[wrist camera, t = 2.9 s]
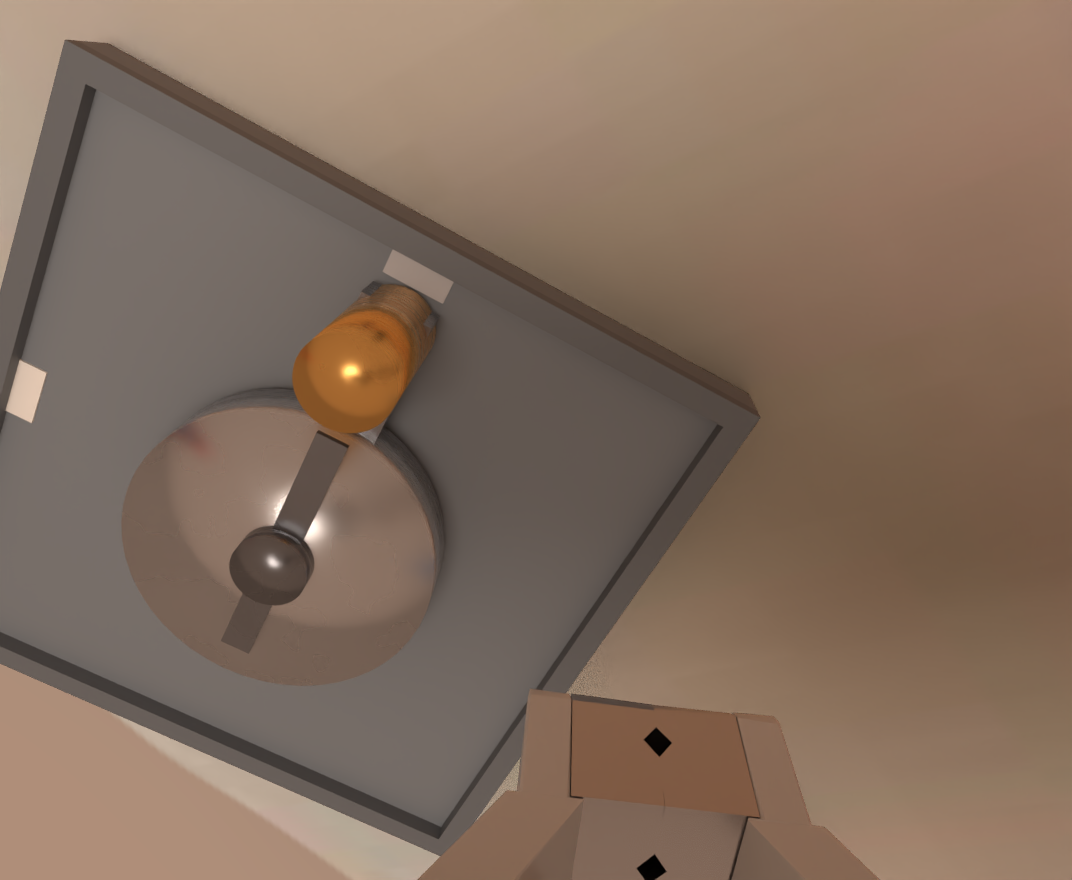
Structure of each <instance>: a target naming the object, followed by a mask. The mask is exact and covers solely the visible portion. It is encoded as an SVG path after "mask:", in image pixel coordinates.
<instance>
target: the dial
mask: <svg viewBox="0 0 1072 880" xmlns="http://www.w3.org/2000/svg"><path fill="white" fill-rule="evenodd" d="M439 318H440V316H439V315H437V314H436V313H434V312H432V310H431V309H430V307H429V305H428V304H427V303H426V301H425V300H424V299H423V298H422V297H421V296H420V295H419V294H417V293H416V292H414V291H413V290H411V289H409V288H407V287H404V286H400V285H395V284H385V285H381V284H379V283H377V282H375V281H373V282H371V283H370V284H369V285H368V286H367V287H366V288H364V289H363V290H362V291H361V293H360V295H359V297H358V299H357V300H356V301H355V302H354V303H353V304H352V305H350V306H349V307H348V308H347V309H346V310H345V311H344V312H342V313H341V314H340V315H339V316H338V317H337V318H336V319H335V320H333V321H332V322H331V323H330V324H329V325H328V326H327V327H325V328H324V329H323V330H322V331H321V332H320V333H319V334H318V335H316V336H315V337H314V338H313V339H312V340H311V341H310V342H308V343H307V344H306V345H305V346H304V347H303V348H302V350H301V351H300V352H299V354H298V356H297V358H296V360H295V363H294V366H293V372H292V381H293V388H294V389H275V388H274V389H261V390H252V391H247V392H243V393H238V394H234V395H231V396H229V397H226V398H223V399H220V400H218V401H216V402H214V403H212V404H210V405H208V406H207V407H205V408H203V409H201V410H200V411H199V412H197V413H196V414H195V415H193V416H192V417H191V418H189V419H188V420H187V421H186V422H184V423H183V424H182V425H181V426H179V427H178V428H177V429H176V430H174V431H173V432H172V433H171V434H170V435H168V436H167V437H166V438H165V439H163V440H162V441H161V442H160V443H158V444H157V445H156V446H155V447H154V448H153V450H152V451H151V452H150V453H149V454H148V455H147V456H146V457H145V458H144V460H143V461H142V462H141V464H140V465H139V467H138V468H137V470H136V471H135V473H134V475H133V477H132V480H131V482H130V484H129V486H128V489H127V492H126V496H125V500H124V503H123V510H122V519H121V529H122V543H123V548H124V553H125V558H126V561H127V564H128V567H129V570H130V573H131V576H132V578H133V580H134V582H135V584H136V586H137V588H138V590H139V592H140V594H141V595H142V597H143V598H144V600H145V601H146V603H147V604H148V606H149V608H150V609H151V610H152V611H153V613H154V614H155V615H156V616H157V617H158V619H159V620H160V621H161V622H162V623H163V624H164V625H165V626H166V627H167V628H168V629H169V630H170V631H171V632H172V633H173V634H174V635H175V636H176V637H177V638H178V639H179V640H181V641H182V642H183V643H184V644H186V645H187V646H188V647H189V648H191V649H192V650H194V651H195V652H197V653H198V654H200V655H201V656H203V657H205V658H206V659H208V660H210V661H212V662H213V663H215V664H217V665H219V666H221V667H223V668H225V669H228V670H230V671H233V672H235V673H238V674H240V675H243V676H246V677H249V678H253V679H257V680H260V681H264V682H270V683H275V684H281V685H294V686H312V685H324V684H331V683H337V682H341V681H344V680H348V679H352V678H355V677H357V676H360V675H362V674H365V673H367V672H370V671H371V670H373V669H375V668H377V667H378V666H380V665H382V664H384V663H385V662H386V661H388V660H389V659H390V658H392V657H393V656H394V655H395V654H397V653H398V652H399V651H400V650H401V649H402V648H403V647H404V646H405V645H406V644H407V642H408V641H409V640H410V639H411V638H412V636H413V635H414V633H415V632H416V630H417V629H418V627H419V626H420V624H421V622H422V620H423V617H424V615H425V613H426V611H427V608H428V605H429V602H430V599H431V596H432V593H433V590H434V587H435V584H436V581H437V578H438V574H439V571H440V568H441V564H442V560H443V552H444V525H443V518H442V512H441V509H440V505H439V502H438V499H437V496H436V493H435V491H434V489H433V487H432V484H431V482H430V480H429V478H428V476H427V475H426V473H425V471H424V470H423V468H422V467H421V465H420V464H419V462H418V460H417V459H416V458H415V457H414V456H413V454H412V453H411V452H410V451H409V449H408V448H407V447H406V446H405V445H404V444H403V443H402V442H401V441H400V440H399V439H398V438H397V437H396V436H395V435H394V434H393V433H392V432H391V431H389V430H388V429H387V428H385V426H386V424H387V422H388V420H389V418H390V416H391V414H392V412H393V410H394V408H395V406H396V404H397V402H398V400H399V399H400V397H401V396H402V394H403V393H404V391H405V389H406V388H407V386H408V385H409V383H410V382H411V380H412V378H413V377H414V375H415V374H416V372H417V371H418V369H419V367H420V366H421V364H422V363H423V361H424V360H425V358H426V357H427V355H428V353H429V352H430V350H431V348H432V347H433V344H434V341H435V337H436V324H437V322H438V320H439Z"/></svg>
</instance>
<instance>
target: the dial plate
mask: <svg viewBox="0 0 1072 880" xmlns="http://www.w3.org/2000/svg"><path fill="white" fill-rule="evenodd" d="M373 281H375V282H377V283H379V284H381V285H385V284H395V285H400V286H404V287H407V288H409V289H411V290H413V291H414V292H416V293H417V294H419V295H420V296H421V297H422V298H423V299H424V300H425V301H426V303H427V304H428V305H429V307H430V309H431V310H432V312H434V313H436V314H437V315H439V316H440V318H439V320H438V322H437V324H436V337H435V341H434V344H433V347H432V348H431V350H430V352H429V353H428V355H427V357H426V358H425V360H424V361H423V363H422V364H421V366H420V367H419V369H418V371H417V372H416V374H415V375H414V377H413V378H412V380H411V382H410V383H409V385H408V386H407V388H406V389H405V391H404V393H403V394H402V396H401V397H400V399H399V400H398V402H397V404H396V406H395V408H394V410H393V412H392V414H391V416H390V418H389V420H388V422H387V424H386V426H385V428H387V429H388V430H389V431H391V432H392V433H393V434H394V435H395V436H396V437H397V438H398V439H399V440H400V441H401V442H402V443H403V444H404V445H405V446H406V447H407V448H408V449H409V451H410V452H411V453H412V454H413V456H414V457H415V458H416V459H417V460H418V462H419V464H420V465H421V467H422V468H423V470H424V471H425V473H426V475H427V476H428V478H429V480H430V482H431V484H432V487H433V489H434V491H435V493H436V496H437V499H438V502H439V505H440V509H441V512H442V518H443V525H444V552H443V560H442V564H441V568H440V571H439V574H438V578H437V581H436V584H435V587H434V590H433V593H432V596H431V599H430V602H429V605H428V608H427V611H426V613H425V615H424V617H423V620H422V622H421V624H420V626H419V627H418V629H417V630H416V632H415V633H414V635H413V636H412V638H411V639H410V640H409V641H408V642H407V644H406V645H405V646H404V647H403V648H402V649H401V650H400V651H399V652H398V653H397V654H395V655H394V656H393V657H392V658H390V659H389V660H388V661H386V662H385V663H384V664H382V665H380V666H378V667H377V668H375V669H373V670H371V671H370V672H367V673H365V674H362V675H360V676H357V677H355V678H352V679H348V680H344V681H341V682H337V683H331V684H324V685H312V686H294V685H281V684H275V683H270V682H264V681H260V680H257V679H253V678H249V677H246V676H243V675H240V674H238V673H235V672H233V671H230V670H228V669H225V668H223V667H221V666H219V665H217V664H215V663H213V662H212V661H210V660H208V659H206V658H205V657H203V656H201V655H200V654H198V653H197V652H195V651H194V650H192V649H191V648H189V647H188V646H187V645H186V644H184V643H183V642H182V641H181V640H179V639H178V638H177V637H176V636H175V635H174V634H173V633H172V632H171V631H170V630H169V629H168V628H167V627H166V626H165V625H164V624H163V623H162V622H161V621H160V620H159V619H158V617H157V616H156V615H155V614H154V613H153V611H152V610H151V609H150V608H149V606H148V604H147V603H146V601H145V600H144V598H143V597H142V595H141V594H140V592H139V590H138V588H137V586H136V584H135V582H134V580H133V578H132V576H131V573H130V570H129V567H128V564H127V561H126V558H125V553H124V548H123V543H122V529H121V519H122V510H123V503H124V500H125V496H126V492H127V489H128V486H129V484H130V482H131V480H132V477H133V475H134V473H135V471H136V470H137V468H138V467H139V465H140V464H141V462H142V461H143V460H144V458H145V457H146V456H147V455H148V454H149V453H150V452H151V451H152V450H153V448H154V447H155V446H156V445H157V444H158V443H160V442H161V441H162V440H163V439H165V438H166V437H167V436H168V435H170V434H171V433H172V432H173V431H174V430H176V429H177V428H178V427H179V426H181V425H182V424H183V423H184V422H186V421H187V420H188V419H189V418H191V417H192V416H193V415H195V414H196V413H197V412H199V411H200V410H201V409H203V408H205V407H207V406H208V405H210V404H212V403H214V402H216V401H218V400H220V399H223V398H226V397H229V396H231V395H234V394H238V393H243V392H247V391H252V390H261V389H274V388H275V389H294V388H293V381H292V372H293V366H294V363H295V360H296V358H297V356H298V354H299V352H300V351H301V350H302V348H303V347H304V346H305V345H306V344H307V343H308V342H310V341H311V340H312V339H313V338H314V337H315V336H316V335H318V334H319V333H320V332H321V331H322V330H323V329H324V328H325V327H327V326H328V325H329V324H330V323H331V322H332V321H333V320H335V319H336V318H337V317H338V316H339V315H340V314H341V313H342V312H344V311H345V310H346V309H347V308H348V307H349V306H350V305H352V304H353V303H354V302H355V301H356V300H357V299H358V297H359V295H360V293H361V291H362V290H363V289H364V288H366V287H367V286H368V285H369V284H370V283H371V282H373ZM759 419H760V416H759V414H758V412H757V410H756V408H755V406H754V404H753V401H752V399H751V397H750V395H749V394H748V393H746V392H744V391H742V390H740V389H739V388H737V387H735V386H733V385H731V384H729V383H728V382H726V381H724V380H722V379H720V378H718V377H717V376H715V375H713V374H711V373H709V372H708V371H706V370H704V369H702V368H700V367H698V366H697V365H695V364H693V363H691V362H689V361H687V360H686V359H684V358H682V357H680V356H678V355H676V354H675V353H673V352H671V351H669V350H667V349H665V348H664V347H662V346H660V345H658V344H656V343H655V342H653V341H651V340H649V339H647V338H645V337H644V336H642V335H640V334H638V333H636V332H634V331H633V330H631V329H629V328H627V327H625V326H623V325H622V324H620V323H618V322H616V321H614V320H612V319H611V318H609V317H607V316H605V315H603V314H602V313H600V312H598V311H596V310H594V309H592V308H591V307H589V306H587V305H585V304H583V303H581V302H580V301H578V300H576V299H574V298H572V297H570V296H569V295H567V294H565V293H563V292H561V291H559V290H558V289H556V288H554V287H552V286H550V285H549V284H547V283H545V282H543V281H541V280H539V279H538V278H536V277H534V276H532V275H530V274H528V273H527V272H525V271H523V270H521V269H519V268H517V267H516V266H514V265H512V264H510V263H508V262H506V261H505V260H503V259H501V258H499V257H497V256H496V255H494V254H492V253H490V252H488V251H486V250H485V249H483V248H481V247H479V246H477V245H475V244H474V243H472V242H470V241H468V240H466V239H464V238H463V237H461V236H459V235H457V234H455V233H453V232H452V231H450V230H448V229H446V228H444V227H443V226H441V225H439V224H437V223H435V222H433V221H432V220H430V219H428V218H426V217H424V216H422V215H421V214H419V213H417V212H415V211H413V210H411V209H410V208H408V207H406V206H404V205H402V204H400V203H399V202H397V201H395V200H393V199H391V198H390V197H388V196H386V195H384V194H382V193H380V192H379V191H377V190H375V189H373V188H371V187H369V186H368V185H366V184H364V183H362V182H360V181H358V180H357V179H355V178H353V177H351V176H349V175H347V174H346V173H344V172H342V171H340V170H338V169H337V168H335V167H333V166H331V165H329V164H327V163H326V162H324V161H322V160H320V159H318V158H316V157H315V156H313V155H311V154H309V153H307V152H305V151H304V150H302V149H300V148H298V147H296V146H294V145H293V144H291V143H289V142H287V141H285V140H284V139H282V138H280V137H278V136H276V135H274V134H273V133H271V132H269V131H267V130H265V129H263V128H262V127H260V126H258V125H256V124H254V123H252V122H251V121H249V120H247V119H245V118H243V117H241V116H240V115H238V114H236V113H234V112H232V111H231V110H229V109H227V108H225V107H223V106H221V105H220V104H218V103H216V102H214V101H212V100H210V99H209V98H207V97H205V96H203V95H201V94H199V93H198V92H196V91H194V90H192V89H190V88H188V87H187V86H185V85H183V84H181V83H179V82H178V81H176V80H174V79H172V78H170V77H168V76H167V75H165V74H163V73H161V72H159V71H157V70H156V69H154V68H152V67H150V66H148V65H146V64H145V63H143V62H141V61H139V60H137V59H135V58H134V57H132V56H130V55H128V54H126V53H125V52H123V51H121V50H119V49H117V48H115V47H114V46H112V45H110V44H108V43H98V42H86V41H75V40H65V41H64V45H63V49H62V53H61V57H60V61H59V65H58V69H57V72H56V76H55V80H54V84H53V88H52V92H51V96H50V100H49V104H48V107H47V111H46V115H45V119H44V123H43V127H42V131H41V135H40V139H39V142H38V146H37V150H36V154H35V158H34V162H33V166H32V170H31V173H30V177H29V181H28V185H27V189H26V193H25V197H24V201H23V205H22V208H21V212H20V216H19V220H18V224H17V228H16V232H15V236H14V240H13V243H12V247H11V251H10V255H9V259H8V263H7V267H6V271H5V275H4V278H3V282H2V286H1V290H0V664H2V665H5V666H7V667H9V668H12V669H14V670H16V671H18V672H21V673H23V674H25V675H27V676H30V677H32V678H34V679H37V680H39V681H41V682H43V683H46V684H48V685H50V686H53V687H55V688H57V689H59V690H62V691H64V692H66V693H69V694H71V695H73V696H75V697H78V698H80V699H82V700H85V701H87V702H89V703H92V704H94V705H96V706H98V707H101V708H103V709H105V710H107V711H110V712H112V713H114V714H117V715H119V716H121V717H123V718H126V719H128V720H130V721H133V722H135V723H137V724H139V725H142V726H144V727H146V728H149V729H151V730H153V731H155V732H158V733H160V734H162V735H165V736H167V737H169V738H171V739H174V740H176V741H178V742H181V743H183V744H185V745H187V746H190V747H192V748H194V749H197V750H199V751H201V752H203V753H206V754H208V755H210V756H213V757H215V758H217V759H219V760H222V761H224V762H226V763H229V764H231V765H233V766H235V767H238V768H240V769H242V770H245V771H247V772H249V773H251V774H254V775H256V776H258V777H261V778H263V779H265V780H267V781H270V782H272V783H274V784H277V785H279V786H281V787H283V788H286V789H288V790H290V791H293V792H295V793H297V794H299V795H302V796H304V797H306V798H309V799H311V800H313V801H315V802H318V803H320V804H322V805H325V806H327V807H329V808H331V809H334V810H336V811H338V812H341V813H343V814H345V815H347V816H350V817H352V818H354V819H357V820H359V821H361V822H363V823H366V824H368V825H370V826H373V827H375V828H377V829H379V830H382V831H384V832H386V833H389V834H391V835H393V836H395V837H398V838H400V839H402V840H405V841H407V842H409V843H411V844H414V845H416V846H418V847H421V848H423V849H425V850H427V851H430V852H432V853H434V854H437V855H439V856H442V855H443V854H444V853H445V852H446V851H447V850H448V849H449V848H450V847H451V846H452V845H453V844H454V843H455V842H456V841H457V840H458V839H459V838H460V837H461V836H462V835H463V834H464V833H465V832H466V831H467V830H468V829H469V828H470V827H471V826H472V825H473V823H474V822H475V821H476V819H477V818H478V816H479V815H480V814H481V812H482V811H483V809H484V808H485V807H486V805H487V804H488V802H489V801H490V799H491V798H492V797H493V795H494V794H495V792H496V791H497V790H498V788H499V787H500V785H501V784H502V783H503V781H504V780H505V778H506V777H507V775H508V774H509V773H510V771H511V770H512V768H513V767H514V766H515V764H516V763H517V761H518V760H519V759H520V757H521V751H522V743H523V734H524V726H525V717H526V709H527V701H528V695H529V691H530V689H536V690H544V691H551V692H559V693H566V692H567V691H568V689H569V688H570V686H571V685H572V684H573V682H574V681H575V679H576V678H577V677H578V675H579V674H580V672H581V671H582V670H583V668H584V667H585V665H586V664H587V662H588V661H589V660H590V658H591V657H592V655H593V654H594V653H595V651H596V650H597V648H598V647H599V645H600V644H601V643H602V641H603V640H604V638H605V637H606V636H607V634H608V633H609V631H610V630H611V629H612V627H613V626H614V624H615V623H616V621H617V620H618V619H619V617H620V616H621V614H622V613H623V612H624V610H625V609H626V607H627V606H628V605H629V603H630V602H631V600H632V599H633V597H634V596H635V595H636V593H637V592H638V590H639V589H640V588H641V586H642V585H643V583H644V582H645V581H646V579H647V578H648V576H649V575H650V573H651V572H652V571H653V569H654V568H655V566H656V565H657V564H658V562H659V561H660V559H661V558H662V556H663V555H664V554H665V552H666V551H667V549H668V548H669V547H670V545H671V544H672V542H673V541H674V540H675V538H676V537H677V535H678V534H679V532H680V531H681V530H682V528H683V527H684V525H685V524H686V523H687V521H688V520H689V518H690V517H691V516H692V514H693V513H694V511H695V510H696V508H697V507H698V506H699V504H700V503H701V501H702V500H703V499H704V497H705V496H706V494H707V493H708V492H709V490H710V489H711V487H712V486H713V484H714V483H715V482H716V480H717V479H718V477H719V476H720V475H721V473H722V472H723V470H724V469H725V467H726V466H727V465H728V463H729V462H730V460H731V459H732V458H733V456H734V455H735V453H736V452H737V451H738V449H739V448H740V446H741V445H742V443H743V442H744V441H745V439H746V438H747V436H748V435H749V434H750V432H751V431H752V429H753V428H754V427H755V425H756V424H757V422H758V421H759Z"/></svg>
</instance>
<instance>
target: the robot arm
mask: <svg viewBox="0 0 1072 880" xmlns="http://www.w3.org/2000/svg"><path fill="white" fill-rule="evenodd" d="M418 880H880V879H878V878H877V877H876V876H875V875H874V874H873V873H872V872H871V871H870V870H869V869H868V868H867V867H866V866H865V865H864V864H863V863H862V862H861V861H860V860H859V859H858V858H857V857H855V856H854V855H853V854H852V853H851V852H850V851H849V850H848V849H847V848H846V847H845V846H844V845H843V844H842V843H841V842H840V841H839V840H838V839H837V838H836V837H835V836H834V835H832V834H831V833H830V832H829V831H828V830H827V829H826V828H825V827H821V826H813V825H811V821H810V818H809V815H808V812H807V809H806V806H805V802H804V799H803V796H802V793H801V790H800V787H799V784H798V780H797V777H796V774H795V771H794V768H793V765H792V761H791V758H790V755H789V752H788V749H787V746H786V743H785V739H784V736H783V733H782V730H781V727H780V724H779V722H778V721H777V720H776V718H775V717H774V716H765V715H754V714H743V713H732V714H730V713H723V712H714V711H705V710H695V709H686V708H677V707H668V706H658V705H651V704H644V703H636V702H629V701H622V700H614V699H607V698H600V697H593V696H585V695H578V694H571V697H570V695H569V694H566V693H559V692H551V691H544V690H536V689H530V691H529V695H528V701H527V709H526V717H525V726H524V734H523V743H522V751H521V759H520V768H519V776H518V785H517V791H509V790H507V791H506V792H505V793H504V794H503V795H502V796H501V797H500V798H499V799H498V800H497V801H496V802H495V803H494V804H493V805H492V806H491V807H490V808H489V809H488V810H487V811H486V812H485V813H484V814H483V815H482V816H481V817H480V818H479V819H478V820H477V821H476V822H475V823H474V824H473V825H472V826H471V827H470V828H469V829H468V830H467V831H466V832H465V833H464V834H463V835H462V836H461V837H460V838H459V839H458V840H457V841H456V842H455V843H454V844H453V845H452V846H451V847H450V848H449V849H448V850H447V851H446V852H445V853H444V854H443V855H442V856H441V857H440V858H439V859H438V860H437V861H436V862H435V863H434V864H433V865H432V866H431V867H430V868H429V869H428V870H427V871H426V872H425V873H424V874H423V875H422V876H421V877H420V878H419V879H418Z"/></svg>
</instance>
